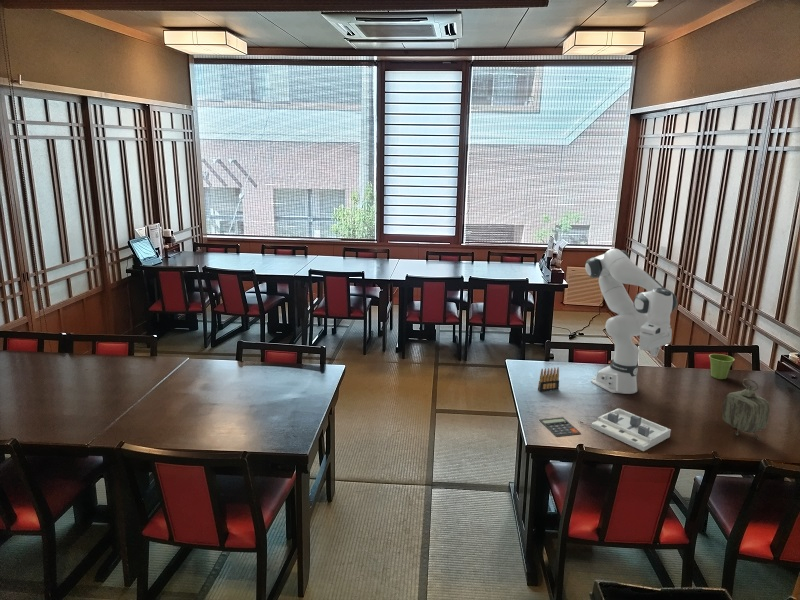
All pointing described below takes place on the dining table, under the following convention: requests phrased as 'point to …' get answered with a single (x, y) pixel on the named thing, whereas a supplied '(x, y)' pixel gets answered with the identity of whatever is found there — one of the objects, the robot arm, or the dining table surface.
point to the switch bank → (631, 430)
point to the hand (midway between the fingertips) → (653, 356)
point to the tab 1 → (613, 417)
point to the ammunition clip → (549, 380)
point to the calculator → (559, 426)
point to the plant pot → (720, 365)
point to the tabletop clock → (746, 410)
